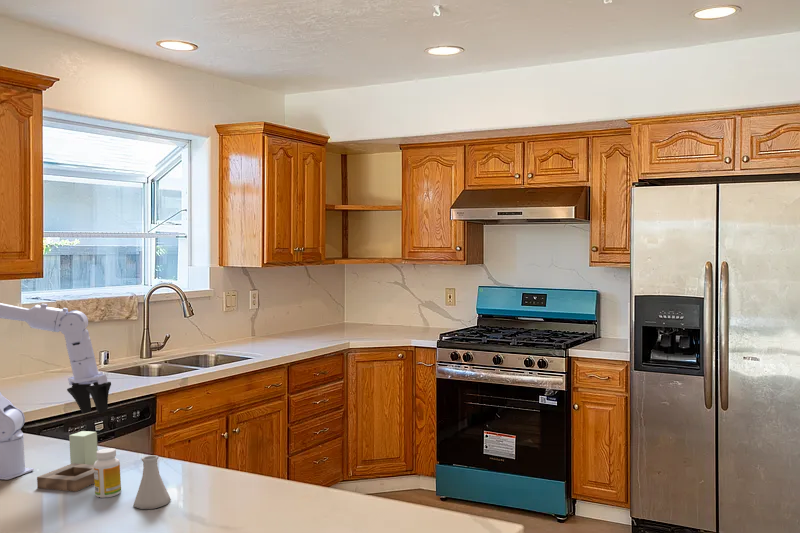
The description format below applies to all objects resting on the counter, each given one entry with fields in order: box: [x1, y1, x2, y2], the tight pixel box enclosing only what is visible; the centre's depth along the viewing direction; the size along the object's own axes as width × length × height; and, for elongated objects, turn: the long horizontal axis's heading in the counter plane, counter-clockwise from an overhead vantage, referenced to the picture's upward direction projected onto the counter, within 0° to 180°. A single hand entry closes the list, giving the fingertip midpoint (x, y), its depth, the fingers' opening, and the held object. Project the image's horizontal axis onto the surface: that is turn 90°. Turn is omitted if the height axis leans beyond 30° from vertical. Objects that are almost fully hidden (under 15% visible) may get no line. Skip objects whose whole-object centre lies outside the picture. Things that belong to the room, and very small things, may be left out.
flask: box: [132, 454, 172, 510], centre depth 160 cm, size 7×7×10 cm
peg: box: [68, 430, 99, 465], centre depth 191 cm, size 4×4×8 cm
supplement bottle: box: [94, 447, 122, 499], centre depth 168 cm, size 5×5×10 cm
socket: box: [36, 463, 95, 492], centre depth 177 cm, size 11×11×2 cm
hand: (94, 412), depth 189 cm, fingers open, 7 cm apart
